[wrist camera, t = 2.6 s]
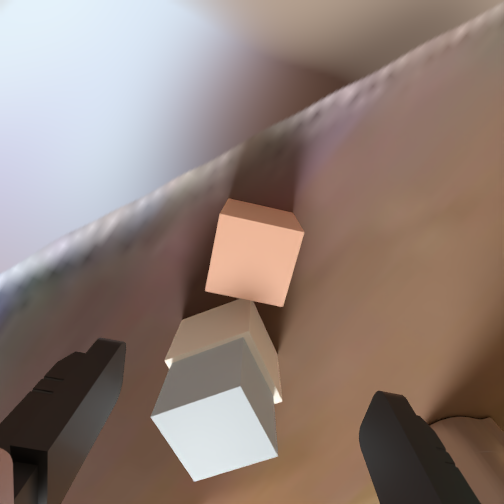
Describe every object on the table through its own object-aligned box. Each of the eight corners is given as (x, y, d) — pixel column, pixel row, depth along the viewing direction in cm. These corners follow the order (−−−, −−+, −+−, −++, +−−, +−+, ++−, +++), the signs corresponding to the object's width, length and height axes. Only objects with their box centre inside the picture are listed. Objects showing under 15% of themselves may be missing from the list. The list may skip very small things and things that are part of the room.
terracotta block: (292, 212, 26) (304, 232, 20) (276, 271, 27) (282, 307, 21) (228, 198, 25) (219, 213, 19) (216, 259, 27) (204, 291, 21)
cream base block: (250, 294, 28) (249, 330, 23) (277, 353, 30) (282, 401, 25) (182, 319, 29) (164, 360, 23) (212, 375, 31) (203, 426, 25)
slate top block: (243, 337, 23) (240, 386, 18) (273, 396, 24) (278, 456, 20) (171, 363, 24) (150, 416, 19) (205, 419, 25) (194, 481, 20)
